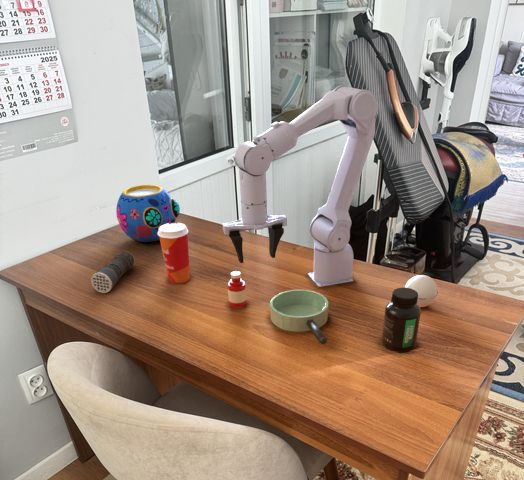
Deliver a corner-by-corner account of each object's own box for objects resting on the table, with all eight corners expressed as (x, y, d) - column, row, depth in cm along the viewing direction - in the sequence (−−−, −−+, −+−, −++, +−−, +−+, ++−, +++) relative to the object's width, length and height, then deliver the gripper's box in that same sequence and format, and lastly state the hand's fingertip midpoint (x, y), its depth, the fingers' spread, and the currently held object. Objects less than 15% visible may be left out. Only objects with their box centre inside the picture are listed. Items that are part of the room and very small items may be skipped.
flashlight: (119, 266, 143) (115, 248, 140) (137, 267, 142) (134, 249, 139) (93, 292, 131) (88, 272, 128) (113, 293, 130) (108, 274, 127)
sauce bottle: (244, 299, 125) (242, 268, 120) (248, 307, 122) (246, 275, 117) (227, 302, 124) (224, 270, 120) (231, 310, 121) (228, 278, 116)
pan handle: (305, 325, 110) (305, 319, 110) (312, 324, 111) (312, 317, 110) (320, 346, 104) (320, 339, 103) (328, 345, 104) (328, 338, 103)
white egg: (395, 305, 120) (399, 276, 116) (414, 294, 124) (418, 266, 120) (433, 321, 114) (438, 291, 110) (451, 309, 118) (457, 280, 114)
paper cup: (165, 273, 139) (158, 222, 131) (194, 271, 139) (188, 220, 131) (163, 286, 132) (155, 234, 124) (193, 284, 133) (187, 232, 125)
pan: (315, 300, 123) (315, 285, 121) (336, 327, 113) (337, 311, 111) (263, 310, 120) (263, 294, 118) (281, 337, 110) (280, 321, 108)
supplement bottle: (414, 356, 103) (423, 303, 96) (379, 351, 104) (385, 299, 98) (416, 338, 108) (424, 286, 101) (382, 334, 110) (388, 283, 103)
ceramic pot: (152, 254, 150) (144, 203, 141) (109, 243, 158) (99, 194, 149) (191, 234, 161) (185, 186, 153) (149, 225, 170) (142, 178, 161)
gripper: (225, 211, 108) (230, 270, 116) (291, 202, 111) (291, 260, 119) (218, 201, 114) (223, 258, 122) (280, 193, 117) (282, 249, 125)
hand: (256, 258), depth 121 cm, fingers open, 7 cm apart
